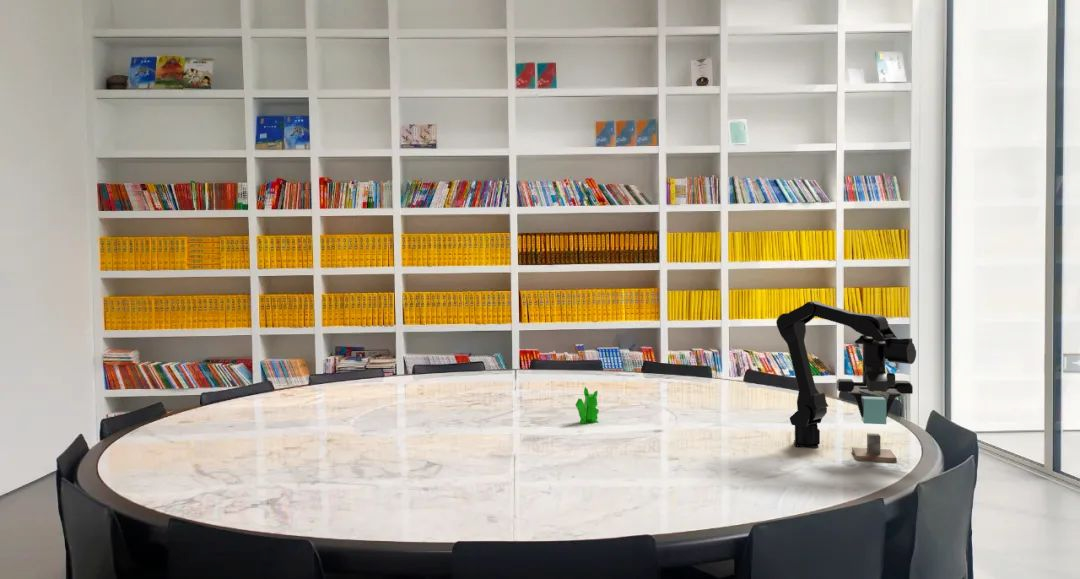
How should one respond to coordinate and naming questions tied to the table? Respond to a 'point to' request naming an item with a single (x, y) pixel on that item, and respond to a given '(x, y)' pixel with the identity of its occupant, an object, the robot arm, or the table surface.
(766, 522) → the table surface
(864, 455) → the post board
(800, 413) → the robot arm
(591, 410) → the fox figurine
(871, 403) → the teal block
